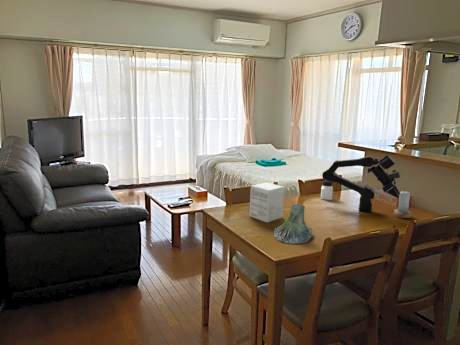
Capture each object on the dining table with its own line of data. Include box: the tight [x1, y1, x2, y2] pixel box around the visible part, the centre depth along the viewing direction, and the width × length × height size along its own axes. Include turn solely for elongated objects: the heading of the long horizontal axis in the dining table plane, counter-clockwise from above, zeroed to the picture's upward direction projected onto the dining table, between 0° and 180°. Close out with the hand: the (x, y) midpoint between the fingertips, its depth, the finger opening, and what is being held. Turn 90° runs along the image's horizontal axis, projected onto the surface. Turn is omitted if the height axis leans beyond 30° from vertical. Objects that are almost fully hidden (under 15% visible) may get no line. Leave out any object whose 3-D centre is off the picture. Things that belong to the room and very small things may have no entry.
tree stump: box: [273, 203, 313, 245], centre depth 175 cm, size 18×20×18 cm
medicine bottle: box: [320, 179, 334, 201], centre depth 242 cm, size 7×7×12 cm
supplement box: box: [248, 182, 285, 223], centre depth 200 cm, size 13×13×18 cm
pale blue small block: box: [397, 190, 411, 213], centre depth 209 cm, size 5×5×11 cm
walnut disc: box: [393, 208, 413, 219], centre depth 210 cm, size 9×9×3 cm
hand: (398, 195), depth 209 cm, fingers open, 9 cm apart
